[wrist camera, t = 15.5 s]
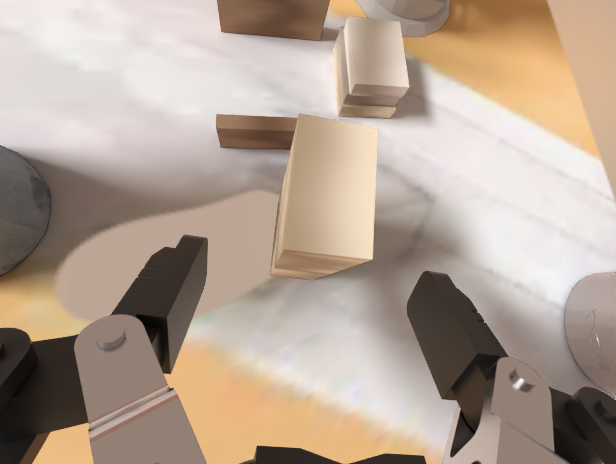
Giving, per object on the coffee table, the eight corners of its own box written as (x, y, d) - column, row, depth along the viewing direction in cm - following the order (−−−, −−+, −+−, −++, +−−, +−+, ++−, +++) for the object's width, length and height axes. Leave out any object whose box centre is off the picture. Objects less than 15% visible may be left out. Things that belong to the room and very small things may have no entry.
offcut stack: (381, 56, 26) (401, 18, 22) (389, 118, 25) (411, 88, 21) (332, 51, 25) (344, 12, 22) (338, 115, 24) (351, 84, 20)
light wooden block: (318, 211, 22) (377, 127, 11) (313, 279, 21) (372, 259, 10) (277, 205, 21) (298, 113, 11) (269, 275, 20) (284, 249, 10)
